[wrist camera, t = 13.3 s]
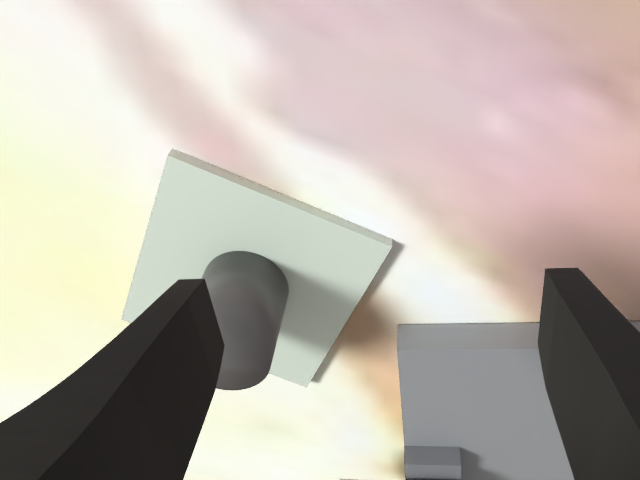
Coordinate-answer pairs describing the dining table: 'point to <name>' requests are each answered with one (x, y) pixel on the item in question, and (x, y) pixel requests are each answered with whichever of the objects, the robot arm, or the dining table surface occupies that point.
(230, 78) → the dining table surface
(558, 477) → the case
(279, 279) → the lid
